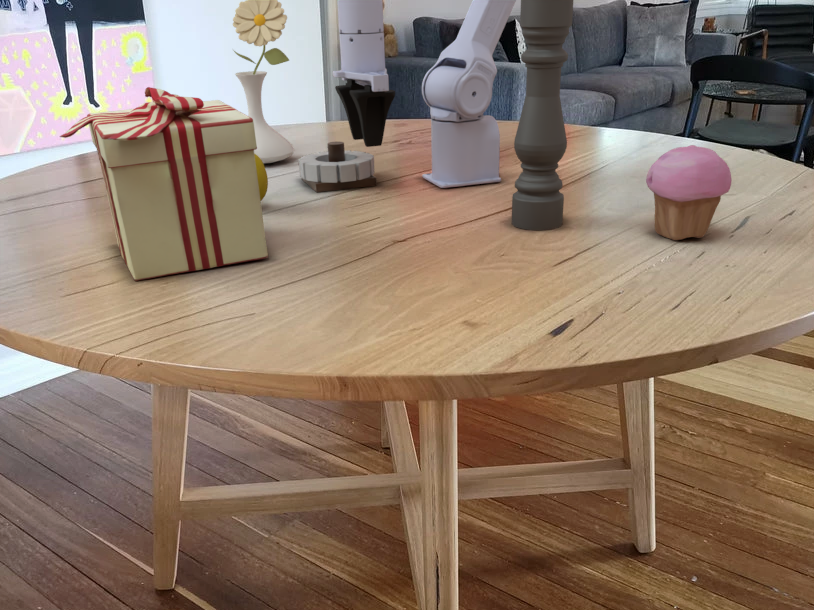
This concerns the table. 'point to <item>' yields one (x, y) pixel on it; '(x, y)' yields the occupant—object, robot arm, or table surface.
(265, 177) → the lemon
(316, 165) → the grey notched ring
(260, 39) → the flower in vase
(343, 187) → the brown peg stand
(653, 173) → the cupcake
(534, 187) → the candle holder
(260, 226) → the gift box
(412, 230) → the table surface
